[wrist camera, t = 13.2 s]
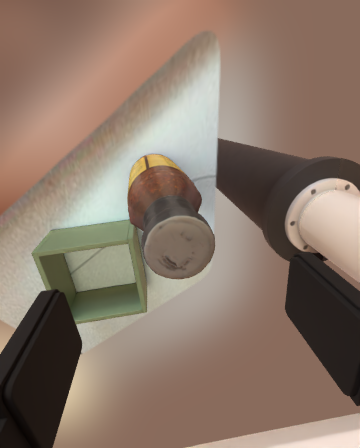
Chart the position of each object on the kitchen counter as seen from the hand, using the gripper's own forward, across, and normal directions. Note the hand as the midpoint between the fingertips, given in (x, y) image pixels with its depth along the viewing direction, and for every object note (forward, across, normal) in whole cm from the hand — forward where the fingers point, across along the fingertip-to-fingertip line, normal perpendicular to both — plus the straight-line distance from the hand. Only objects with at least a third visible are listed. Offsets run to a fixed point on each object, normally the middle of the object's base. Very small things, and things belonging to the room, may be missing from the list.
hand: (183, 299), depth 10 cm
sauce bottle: (+23, 0, 0) cm, 23 cm away
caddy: (+23, +10, +11) cm, 27 cm away
